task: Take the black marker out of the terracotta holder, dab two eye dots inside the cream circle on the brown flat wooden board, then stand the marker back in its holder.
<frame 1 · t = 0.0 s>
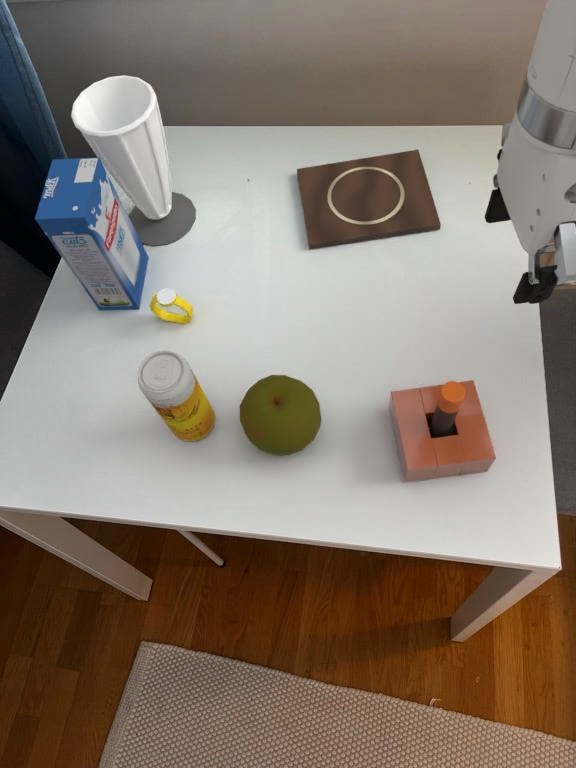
hand: (514, 257, 55), 24 cm above the table, tool pointing down, fingers open, 9 cm apart
cup: (162, 219, 95), on the table
marker: (443, 417, 67), in the holder
apple: (284, 431, 76), on the table
holder: (436, 438, 73), on the table
brown flat wooden board: (365, 200, 92), on the table
beer can: (194, 423, 78), on the table
milk carton: (125, 284, 90), on the table
watch: (177, 319, 86), on the table
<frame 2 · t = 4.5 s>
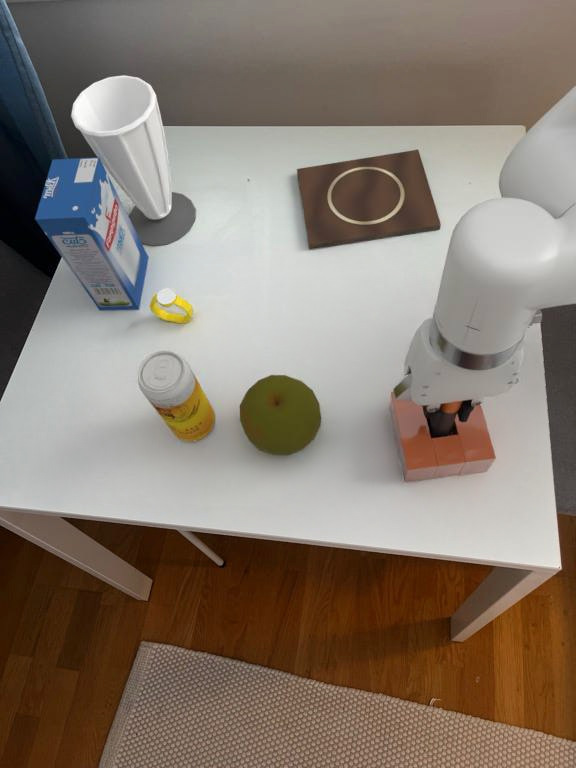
hand: (445, 411, 66), 9 cm above the table, tool pointing down, fingers closed on marker, 2 cm apart
marker: (443, 417, 67), in the holder, touching gripper
everything else where it was.
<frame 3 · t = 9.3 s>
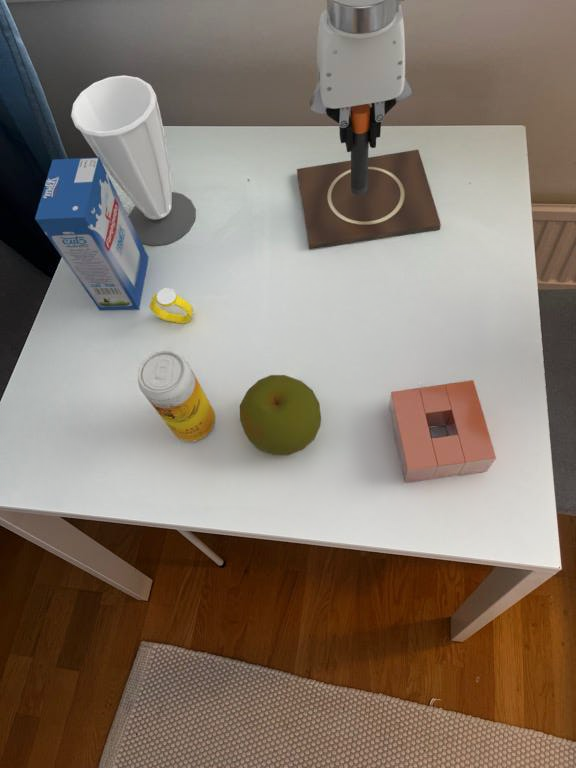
hand: (359, 141, 78), 14 cm above the table, tool pointing down, fingers closed on marker, 2 cm apart
marker: (359, 151, 80), point 12 cm above the table, touching gripper
everything else where it was.
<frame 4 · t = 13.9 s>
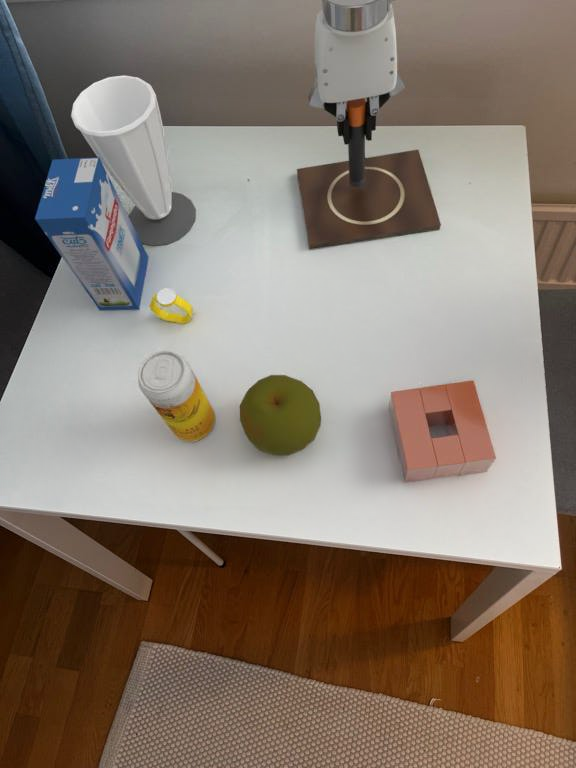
hand: (356, 135, 83), 11 cm above the table, tool pointing down, fingers closed on marker, 2 cm apart
marker: (356, 144, 84), point 10 cm above the table, touching gripper
everything else where it was.
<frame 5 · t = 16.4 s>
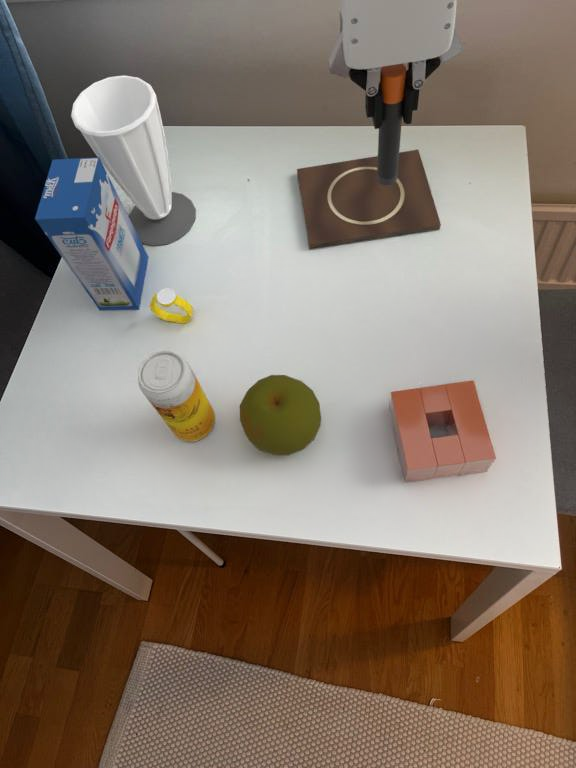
hand: (390, 116, 62), 27 cm above the table, tool pointing down, fingers closed on marker, 2 cm apart
marker: (389, 129, 63), point 25 cm above the table, touching gripper
everything else where it was.
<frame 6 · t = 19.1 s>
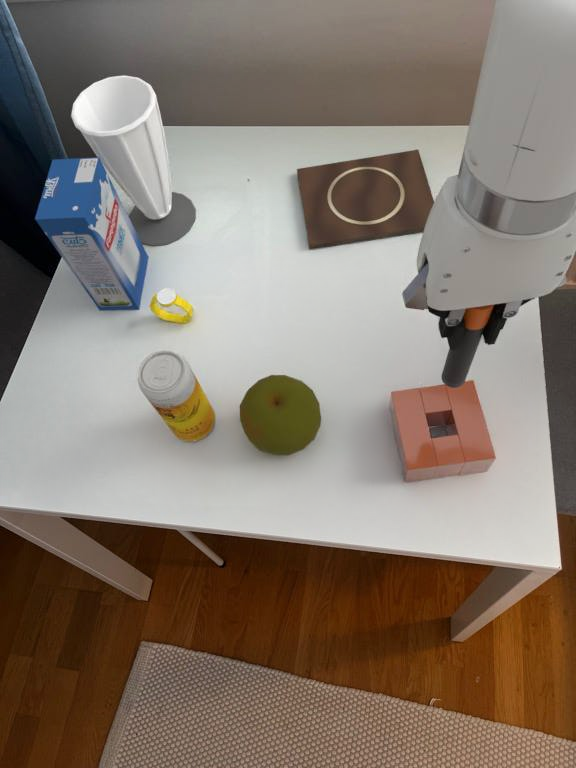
hand: (467, 332, 52), 25 cm above the table, tool pointing down, fingers closed on marker, 2 cm apart
marker: (465, 342, 53), point 23 cm above the table, touching gripper
everything else where it was.
when the fingers open (9 cm above the table, at t = 23.6 s): marker stays where it is, resting in holder.
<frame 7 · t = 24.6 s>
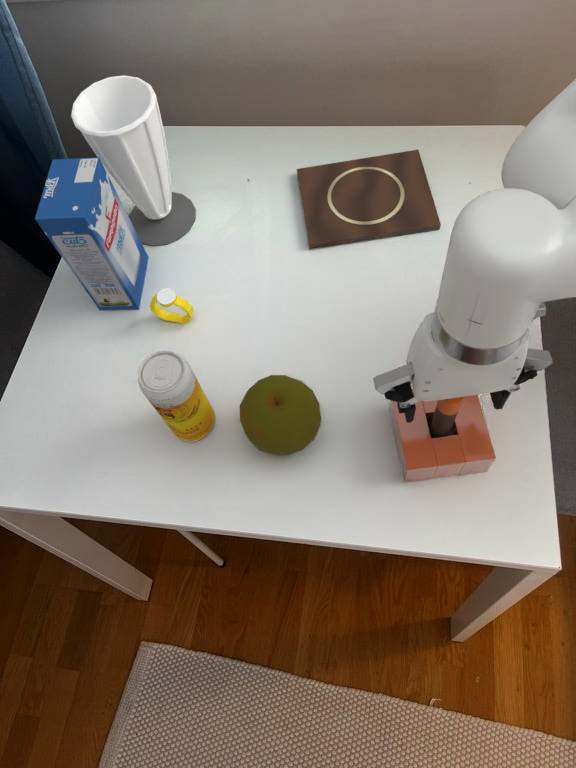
hand: (450, 403, 64), 11 cm above the table, tool pointing down, fingers open, 9 cm apart
marker: (443, 419, 67), in the holder
everything else where it was.
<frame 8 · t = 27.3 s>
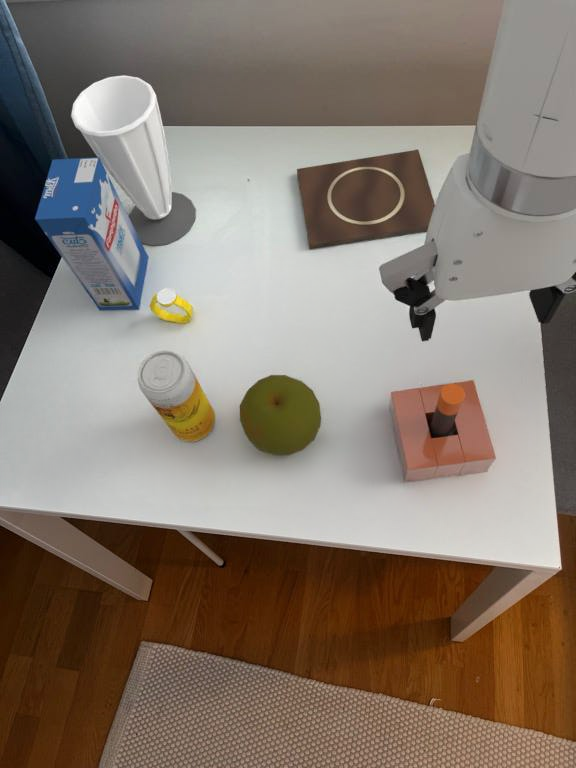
hand: (479, 317, 48), 28 cm above the table, tool pointing down, fingers open, 9 cm apart
nothing on the table moved.
at the end: marker 0.2 cm off-centre in the holder, point 7.0 cm above the holder's base; marker tilted 0°; marker touching table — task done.
